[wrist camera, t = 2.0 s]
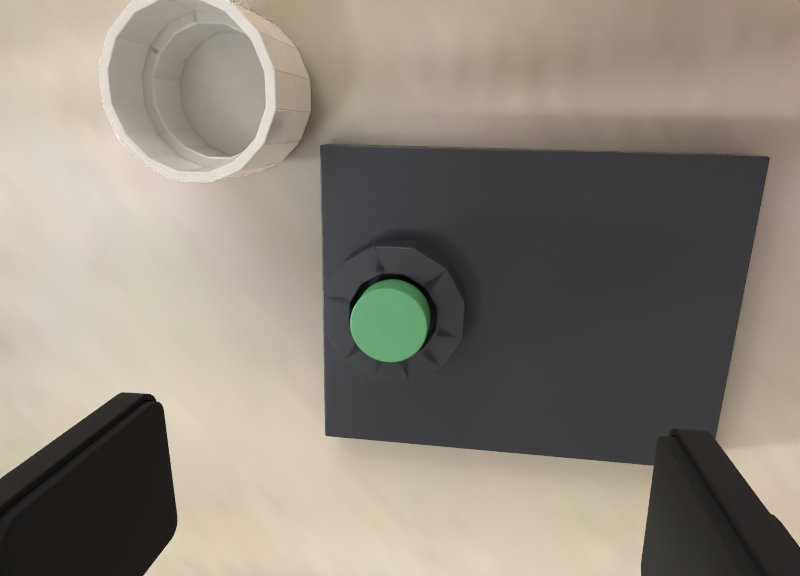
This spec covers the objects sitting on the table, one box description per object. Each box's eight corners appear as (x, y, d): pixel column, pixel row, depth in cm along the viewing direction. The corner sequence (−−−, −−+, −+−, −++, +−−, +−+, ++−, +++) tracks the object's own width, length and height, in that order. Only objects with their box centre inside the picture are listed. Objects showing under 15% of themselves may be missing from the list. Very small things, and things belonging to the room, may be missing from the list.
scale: (331, 422, 29) (315, 454, 27) (328, 143, 26) (309, 145, 23) (698, 454, 27) (724, 492, 24) (754, 154, 23) (792, 158, 21)
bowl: (176, 170, 27) (110, 179, 22) (162, 13, 25) (87, -14, 20) (315, 174, 26) (279, 185, 21) (312, 13, 24) (271, -16, 19)
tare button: (357, 346, 25) (349, 360, 24) (357, 276, 24) (349, 286, 23) (429, 351, 25) (426, 365, 23) (432, 280, 24) (428, 290, 22)
